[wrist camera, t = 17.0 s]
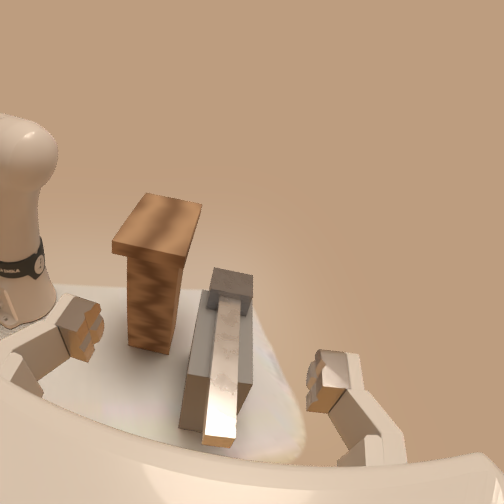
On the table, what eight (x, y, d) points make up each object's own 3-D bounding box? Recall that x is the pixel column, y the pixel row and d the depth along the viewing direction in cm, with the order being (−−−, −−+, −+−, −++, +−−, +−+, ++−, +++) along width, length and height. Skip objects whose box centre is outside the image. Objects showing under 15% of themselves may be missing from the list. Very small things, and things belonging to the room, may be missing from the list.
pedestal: (178, 428, 44) (187, 373, 35) (189, 355, 58) (202, 289, 49) (226, 435, 45) (252, 384, 36) (230, 362, 59) (252, 299, 50)
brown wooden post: (118, 360, 52) (111, 240, 38) (138, 303, 65) (146, 192, 52) (170, 372, 53) (185, 256, 39) (183, 313, 67) (202, 204, 53)
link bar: (187, 441, 28) (190, 427, 26) (209, 287, 50) (214, 267, 48) (243, 449, 29) (253, 436, 27) (246, 294, 50) (252, 275, 48)
